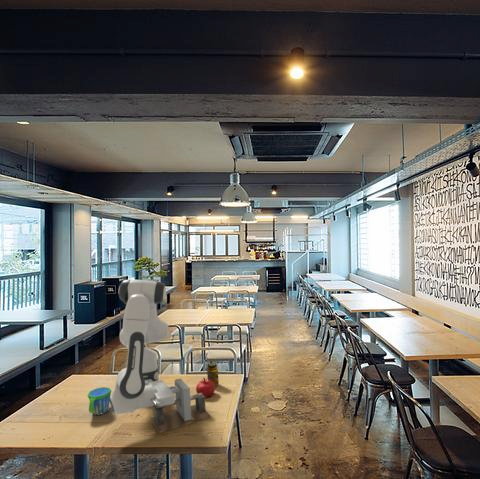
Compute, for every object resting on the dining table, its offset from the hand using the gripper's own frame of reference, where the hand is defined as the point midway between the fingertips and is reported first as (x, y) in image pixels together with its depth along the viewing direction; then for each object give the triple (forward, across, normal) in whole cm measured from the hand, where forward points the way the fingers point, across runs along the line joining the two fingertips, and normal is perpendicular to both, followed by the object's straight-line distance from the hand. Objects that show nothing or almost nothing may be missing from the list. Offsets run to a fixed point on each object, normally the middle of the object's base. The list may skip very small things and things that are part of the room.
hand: (178, 388), depth 164 cm
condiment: (+26, +25, +14) cm, 39 cm away
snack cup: (-32, +28, +14) cm, 45 cm away
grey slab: (+2, 0, +12) cm, 12 cm away
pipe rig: (0, 0, +14) cm, 14 cm away
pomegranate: (+19, +16, +14) cm, 29 cm away
